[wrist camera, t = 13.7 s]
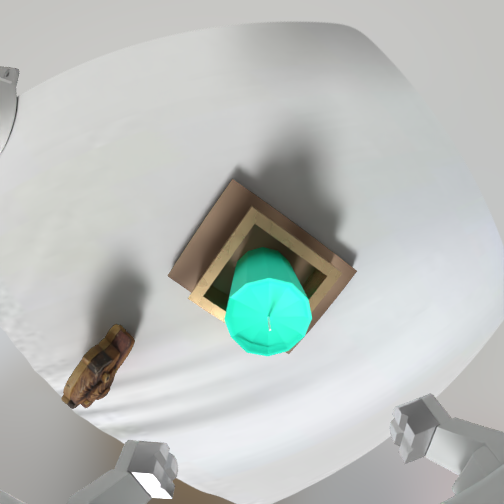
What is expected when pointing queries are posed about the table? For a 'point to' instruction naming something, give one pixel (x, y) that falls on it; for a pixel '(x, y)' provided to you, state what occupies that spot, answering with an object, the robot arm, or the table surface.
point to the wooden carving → (98, 369)
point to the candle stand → (249, 238)
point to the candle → (266, 304)
